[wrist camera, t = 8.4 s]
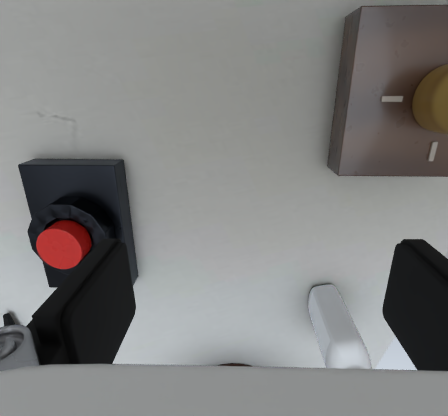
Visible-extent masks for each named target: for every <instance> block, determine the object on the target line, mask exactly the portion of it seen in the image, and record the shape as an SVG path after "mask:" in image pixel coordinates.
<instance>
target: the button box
mask: <svg viewBox="0 0 448 416" xmlns="http://www.w3.org/2000/svg"><path fill="white" fill-rule="evenodd" d="M18 167H19V171H20V175H21V179H22V182H23V186H24V190H25V194H26V198H27V202H28V206H29V210H30V214H31V218H32V220H31V223H30V226H29V228H28V235H29V239H30V243H31V246H32V250H33V251H34V252H35V253H36V254H37V255H38V256H39V257H40V255H39V253H38V251H37V247H36V242H37V238H38V236H39V235H40V234H41V233H42V232H43V231H45V230H46V229H47V228H49V227H50V226H51V225H53V224H54V223H56V222H58V221H61V220H71V221H74V222H77V223H79V224H80V225H82V226H83V227H84V228H85V229H86V230H87V232H88V233H89V235H90V237H91V248H90V251H89V252H88V253H87V254H86V256H87V255H88V254H89V253H90V252H91V251H92V249H93V248H94V247H95V246H96V245H97V244H98V243H99V242H100V241H101V240H102V239H120V240H121V242H122V243H126V245H127V251H128V257H129V264H130V271H131V277H132V284H133V285H134V283H135V281H136V279H137V277H138V272H137V264H136V256H135V248H134V240H133V232H132V224H131V216H130V208H129V200H128V192H127V185H126V177H125V169H124V161H123V160H114V159H33V160H30V161H27V162H24V163H22V164H19V165H18ZM86 256H85V257H86ZM85 257H84V258H85ZM84 258H83V259H84ZM40 259H41V260H42V261H43V264H44V268H45V272H46V276H47V280H48V284H49V287H59V286H60V285H61V283H62V282H63V281H64V280H65V279H66V278H67V277H68V276H69V275H70V274H71V272H72V271H73V270H74V269H75V268H76V267H77V266H78V265H79V264H80V263H81V262H82V260H83V259H82V260H81V261H80V262H79V263H78V264H77V265H76V266H74V267H72V268H69V269H59V268H55V267H52V266H51V265H49V264H47V263H46V262H45V261H44V260H43V259H42V258H41V257H40Z"/></svg>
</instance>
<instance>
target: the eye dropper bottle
mask: <svg viewBox="0 0 448 416" xmlns="http://www.w3.org/2000/svg"><path fill="white" fill-rule="evenodd" d="M308 310H309V314H310V318H311V321H312V324H313V327H314V331H315V334H316V337H317V340H318V343H319V347H320V350H321V353H322V356H323V359H324V362H325V366H326V368H341V369H372V366H371V360H370V357H369V354H368V351H367V349H366V347H365V344H364V342H363V340H362V338H361V336H360V334H359V332H358V330H357V328H356V326H355V324H354V322H353V320H352V318H351V316H350V314H349V312H348V310H347V307H346V305H345V303H344V301H343V299H342V297H341V295H340V293H339V292H338V290H337V288H336V287H335V286H334V285H330V284H328V285H321V286H316V287H313V288H312V289H311V292H310V295H309V299H308Z"/></svg>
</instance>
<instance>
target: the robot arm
mask: <svg viewBox="0 0 448 416" xmlns="http://www.w3.org/2000/svg"><path fill="white" fill-rule="evenodd" d="M135 310H136V304H135V297H134V291H133V284H132V277H131V271H130V264H129V257H128V251H127V245H126V243H122V242H121V240H120V239H102V240H101V241H100V242H99V243H98V244H97V245H96V246H95V247H94V248H93V249H92V251H91V252H90V253H89V254H88V255H87V256H86V257H85V258H84V259H83V260H82V262H81V263H80V264H79V265H78V266H77V267H76V268H75V269H74V270H73V271H72V272H71V274H70V275H69V276H68V277H67V278H66V279H65V280H64V281H63V282H62V283H61V285H60V286H59V287H58V288H57V289H56V290H55V291H54V292H53V293H52V294H51V295H50V297H49V298H48V299H47V300H46V301H45V302H44V303H43V304H42V305H41V306H40V308H39V309H38V310H37V311H36V312H35V313H34V314H33V315H32V318H33V319H32V321H31V322H30V323H29V324H28V325H27V326H26V327H25V326H23V325H10V326H4V327H1V328H0V416H448V259H447V258H446V257H445V256H443V255H442V254H441V253H440V252H438V251H437V250H436V249H435V248H433V247H432V246H431V245H430V244H428V243H427V242H426V241H425V240H423V239H404V240H402V241H401V243H400V244H397V245H396V247H395V251H394V256H393V260H392V265H391V270H390V275H389V280H388V284H387V289H386V294H385V299H384V304H383V316H384V318H385V320H386V322H387V323H388V325H389V326H390V328H391V330H392V331H393V333H394V334H395V336H396V337H397V339H398V340H399V342H400V344H401V345H402V347H403V348H404V350H405V351H406V353H407V354H408V356H409V358H410V359H411V361H412V362H413V364H414V365H415V367H416V368H417V370H386V369H385V370H384V369H341V368H297V367H248V366H202V365H144V364H112V363H113V361H114V358H115V356H116V354H117V352H118V350H119V348H120V345H121V343H122V341H123V339H124V337H125V335H126V332H127V330H128V328H129V326H130V324H131V321H132V319H133V317H134V315H135Z"/></svg>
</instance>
